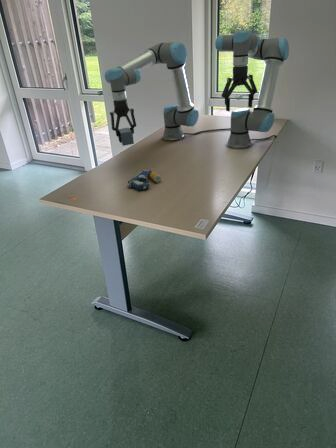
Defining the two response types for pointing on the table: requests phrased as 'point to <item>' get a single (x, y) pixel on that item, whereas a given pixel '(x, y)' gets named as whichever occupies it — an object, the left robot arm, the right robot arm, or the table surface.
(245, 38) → the right robot arm
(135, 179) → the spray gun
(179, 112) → the left robot arm
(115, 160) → the table surface
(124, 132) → the brick
